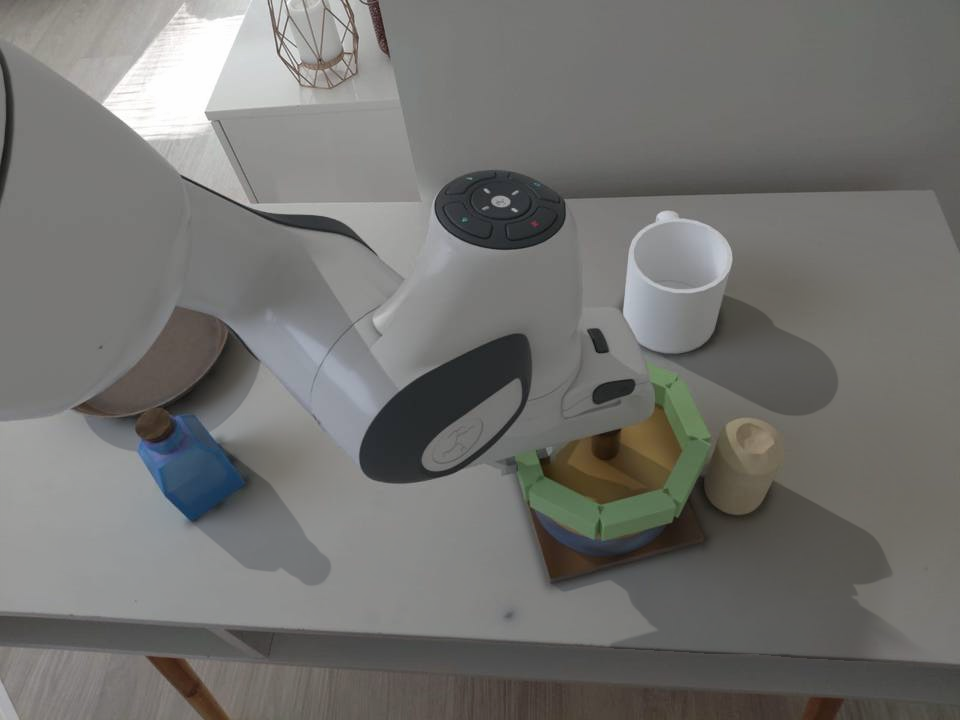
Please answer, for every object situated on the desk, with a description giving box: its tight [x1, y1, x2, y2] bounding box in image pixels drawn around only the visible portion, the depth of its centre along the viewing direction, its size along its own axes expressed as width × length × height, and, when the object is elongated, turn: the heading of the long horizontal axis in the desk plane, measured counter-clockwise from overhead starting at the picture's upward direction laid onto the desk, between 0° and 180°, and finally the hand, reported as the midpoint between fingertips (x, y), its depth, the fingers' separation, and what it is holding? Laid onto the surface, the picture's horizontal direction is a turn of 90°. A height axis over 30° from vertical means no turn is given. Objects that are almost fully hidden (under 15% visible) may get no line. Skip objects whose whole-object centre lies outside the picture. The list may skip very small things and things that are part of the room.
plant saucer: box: [69, 306, 229, 419], centre depth 86 cm, size 21×21×3 cm
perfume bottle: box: [134, 407, 247, 523], centre depth 72 cm, size 6×6×12 cm
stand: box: [525, 403, 705, 584], centre depth 67 cm, size 14×14×13 cm
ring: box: [514, 360, 712, 541], centre depth 64 cm, size 16×16×3 cm
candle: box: [703, 417, 786, 516], centre depth 67 cm, size 6×6×10 cm
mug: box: [622, 210, 733, 355], centre depth 80 cm, size 13×10×10 cm
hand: (526, 462), depth 64 cm, fingers closed on ring, 2 cm apart
